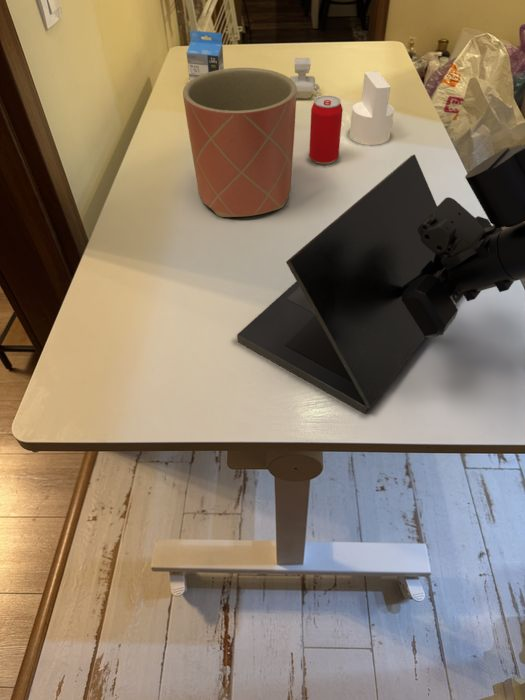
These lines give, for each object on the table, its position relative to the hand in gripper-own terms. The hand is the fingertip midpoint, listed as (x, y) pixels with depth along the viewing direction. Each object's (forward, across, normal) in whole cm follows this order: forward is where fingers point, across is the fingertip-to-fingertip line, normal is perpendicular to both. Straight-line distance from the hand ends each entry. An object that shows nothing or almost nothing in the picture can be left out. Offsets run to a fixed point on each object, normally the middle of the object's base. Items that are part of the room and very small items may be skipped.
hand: (402, 291), depth 69 cm
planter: (+35, -16, -23) cm, 45 cm away
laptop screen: (0, 0, -3) cm, 3 cm away
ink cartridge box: (+65, -53, -54) cm, 100 cm away
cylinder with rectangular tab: (+30, -53, -18) cm, 63 cm away
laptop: (+10, 0, +1) cm, 10 cm away
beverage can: (+32, -38, -20) cm, 53 cm away
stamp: (+48, -62, -36) cm, 86 cm away
